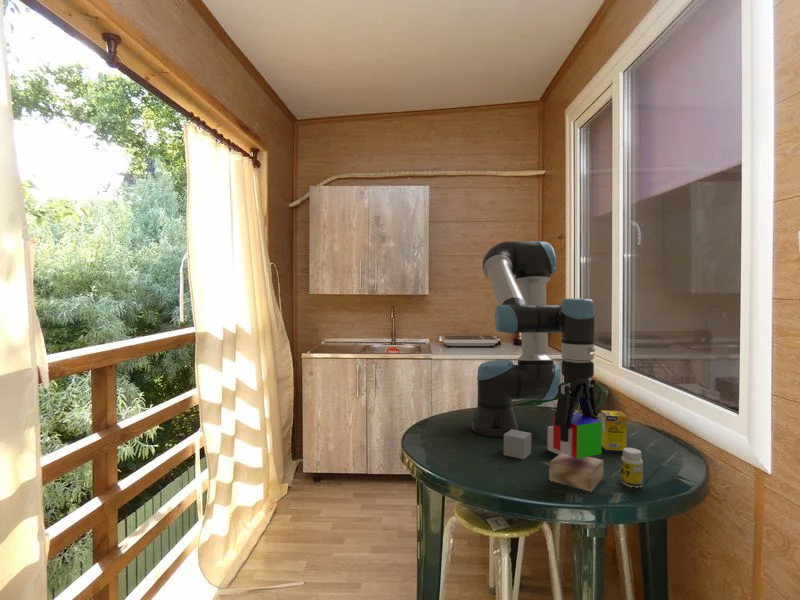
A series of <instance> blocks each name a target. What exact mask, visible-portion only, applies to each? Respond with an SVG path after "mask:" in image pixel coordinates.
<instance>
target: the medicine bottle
mask: <svg viewBox="0 0 800 600" xmlns="http://www.w3.org/2000/svg"><path fill="white" fill-rule="evenodd" d="M574 414H576V413H575V412H574ZM555 416H556V411H555V412H554V417H555ZM547 451H548V452H551V453H553V454H556V455H557V456H558V455H559V454H561V453H560V451H559V450H557V449H554V448H553V425H550V426H547Z"/></svg>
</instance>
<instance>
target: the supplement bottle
mask: <svg viewBox="0 0 800 600" xmlns="http://www.w3.org/2000/svg"><path fill="white" fill-rule="evenodd" d="M620 460H621V461H620V462H621V463H620V464H621V465H620V483H621V484H622V483H623V484H622V485H624V486H625V485H626V487H628V486H629V487H628V488H632V487H635V488H634V489H639V487H640V488H642V487H643V483H644V482H643V481H644V480H643V479H644V478H643V477H644V476H643V475H644V472H643V471H644V461H643V459H642V450H640V449H638V448H634V447H627V448H624V449H623V453H622V456H621V459H620Z"/></svg>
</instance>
